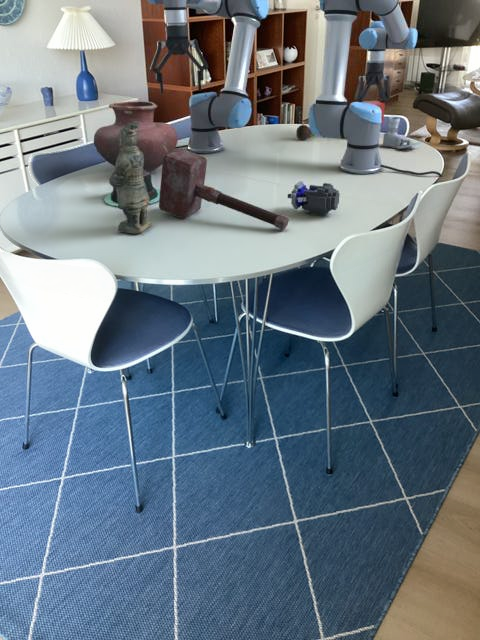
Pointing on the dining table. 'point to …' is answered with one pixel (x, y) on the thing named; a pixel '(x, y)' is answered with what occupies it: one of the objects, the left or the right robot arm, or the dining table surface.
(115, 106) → the clay pot
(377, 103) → the block
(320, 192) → the toy
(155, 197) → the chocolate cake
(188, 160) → the sledgehammer
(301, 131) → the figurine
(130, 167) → the statue
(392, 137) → the grey boot
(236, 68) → the left robot arm
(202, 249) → the dining table surface
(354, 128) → the right robot arm
